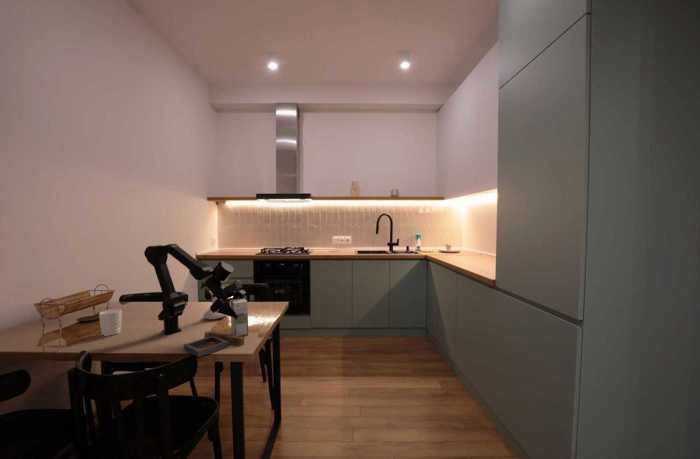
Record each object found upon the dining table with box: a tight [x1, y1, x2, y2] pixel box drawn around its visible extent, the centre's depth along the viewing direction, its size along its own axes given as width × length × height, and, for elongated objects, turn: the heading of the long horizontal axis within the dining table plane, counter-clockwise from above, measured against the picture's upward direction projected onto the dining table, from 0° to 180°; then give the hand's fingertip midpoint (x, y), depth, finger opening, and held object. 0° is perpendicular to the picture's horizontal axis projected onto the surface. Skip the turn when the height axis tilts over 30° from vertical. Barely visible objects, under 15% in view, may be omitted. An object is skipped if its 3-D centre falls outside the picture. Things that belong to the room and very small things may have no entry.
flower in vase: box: [202, 276, 230, 320], centre depth 155 cm, size 13×11×25 cm
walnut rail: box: [203, 330, 245, 346], centre depth 122 cm, size 20×2×2 cm, turn 65°
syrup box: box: [230, 298, 249, 337], centre depth 129 cm, size 6×6×14 cm
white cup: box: [98, 308, 123, 337], centre depth 135 cm, size 8×8×10 cm
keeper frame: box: [183, 335, 229, 358], centre depth 115 cm, size 11×11×2 cm
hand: (242, 314), depth 129 cm, fingers closed on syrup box, 8 cm apart
